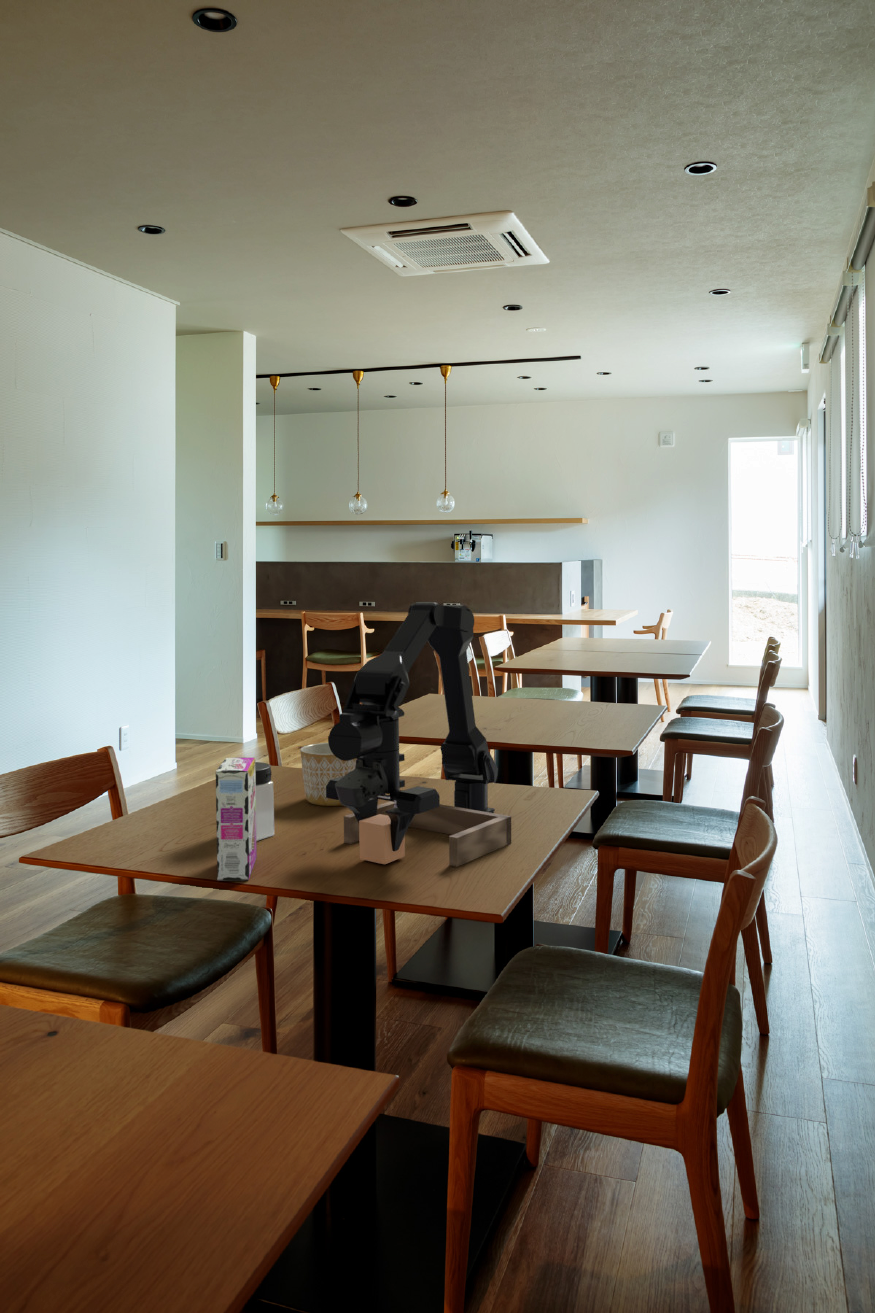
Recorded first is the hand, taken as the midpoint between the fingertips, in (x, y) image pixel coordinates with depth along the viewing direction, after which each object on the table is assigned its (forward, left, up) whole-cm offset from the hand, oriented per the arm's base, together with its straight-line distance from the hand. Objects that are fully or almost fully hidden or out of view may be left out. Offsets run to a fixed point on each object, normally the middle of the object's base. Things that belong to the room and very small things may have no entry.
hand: (382, 847), depth 150 cm
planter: (-25, -33, -2) cm, 41 cm away
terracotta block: (0, 0, -2) cm, 2 cm away
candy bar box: (+16, -15, -2) cm, 22 cm away
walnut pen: (-11, 0, -2) cm, 11 cm away
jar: (+2, -28, -2) cm, 28 cm away
